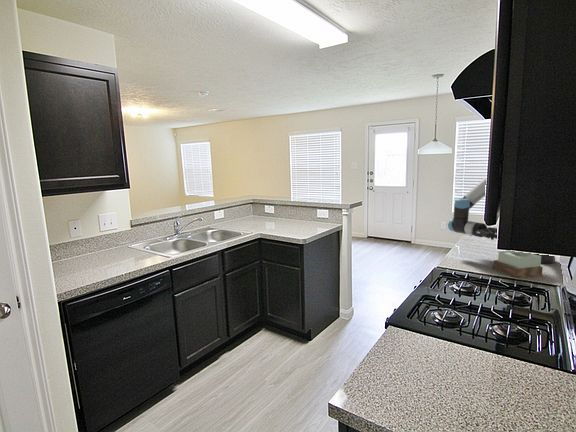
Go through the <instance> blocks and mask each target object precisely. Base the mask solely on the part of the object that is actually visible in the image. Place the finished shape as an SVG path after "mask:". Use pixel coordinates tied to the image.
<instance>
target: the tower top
mask: <svg viewBox="0 0 576 432" xmlns="http://www.w3.org/2000/svg"><path fill="white" fill-rule="evenodd" d="M497 260H498V261H499V262H502V263H505V264H508V265H511V266H514V267H517V268H529V267H539V266H541V264H542V263H541V256H539V255H535V254H531V253H524V254H523V255H518V254H514V253H511V252H510V250H502V251H501V250H500V251H498V257H497Z"/></svg>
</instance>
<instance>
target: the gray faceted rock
mask: <svg viewBox="0 0 576 432" xmlns="http://www.w3.org/2000/svg"><path fill="white" fill-rule="evenodd" d="M509 251H510V250H509ZM510 252H511V253H514V254H518V255H523V254H524V253H523V252H515V251H510Z"/></svg>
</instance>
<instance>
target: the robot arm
mask: <svg viewBox="0 0 576 432" xmlns="http://www.w3.org/2000/svg"><path fill="white" fill-rule="evenodd" d="M485 185H486V176H485V177H484V178H483V179H482V180H480V181H479V182H478V183H477V184H476V185H475V186H474V187H473V188H472V189H470V190H469V191H468V192H467V193H466V194H465V195H464V196H463V197H462V198H455V200H454V203H453V218H451V219H449V221H448V223H447V227H448V230H449V231H451V232H454V233H456V234H458V233H459V234H463V235H468V236H470V237H473V236H474V237H478V238H487V239H490V240H491V241H493V240H498V239H497V228H498V227H487V224H485V223H484V222H483V223H482V222H476V221H472V220H471V221H470V220H469V214H470V209H472V208H473V207H474V206H475V205H476V204H478V203H479V202H480V201H481V200H483V198H485V196H486V195H485ZM535 255H539V254H535ZM539 256H541V264H554V262H555V263H556V256H555V255H554V256H549V255H539Z"/></svg>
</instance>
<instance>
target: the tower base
mask: <svg viewBox="0 0 576 432" xmlns="http://www.w3.org/2000/svg"><path fill="white" fill-rule="evenodd" d="M543 268H544V267H543V266H541V265H540V266H539V267H529V268H517V267H514V266H511V265H508V264H505V263H502V262H499V261H498V259H495V260H494V259H493V263H492V269H493V270H495V271H497V272H499V273H501V274H502V273H503V274H505V275H507V276H510V277H512V278H513V279H514V278H515V279H523V278H525V279H526V278H537V277H538V278H539V277H543V271H544V270H543Z"/></svg>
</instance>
